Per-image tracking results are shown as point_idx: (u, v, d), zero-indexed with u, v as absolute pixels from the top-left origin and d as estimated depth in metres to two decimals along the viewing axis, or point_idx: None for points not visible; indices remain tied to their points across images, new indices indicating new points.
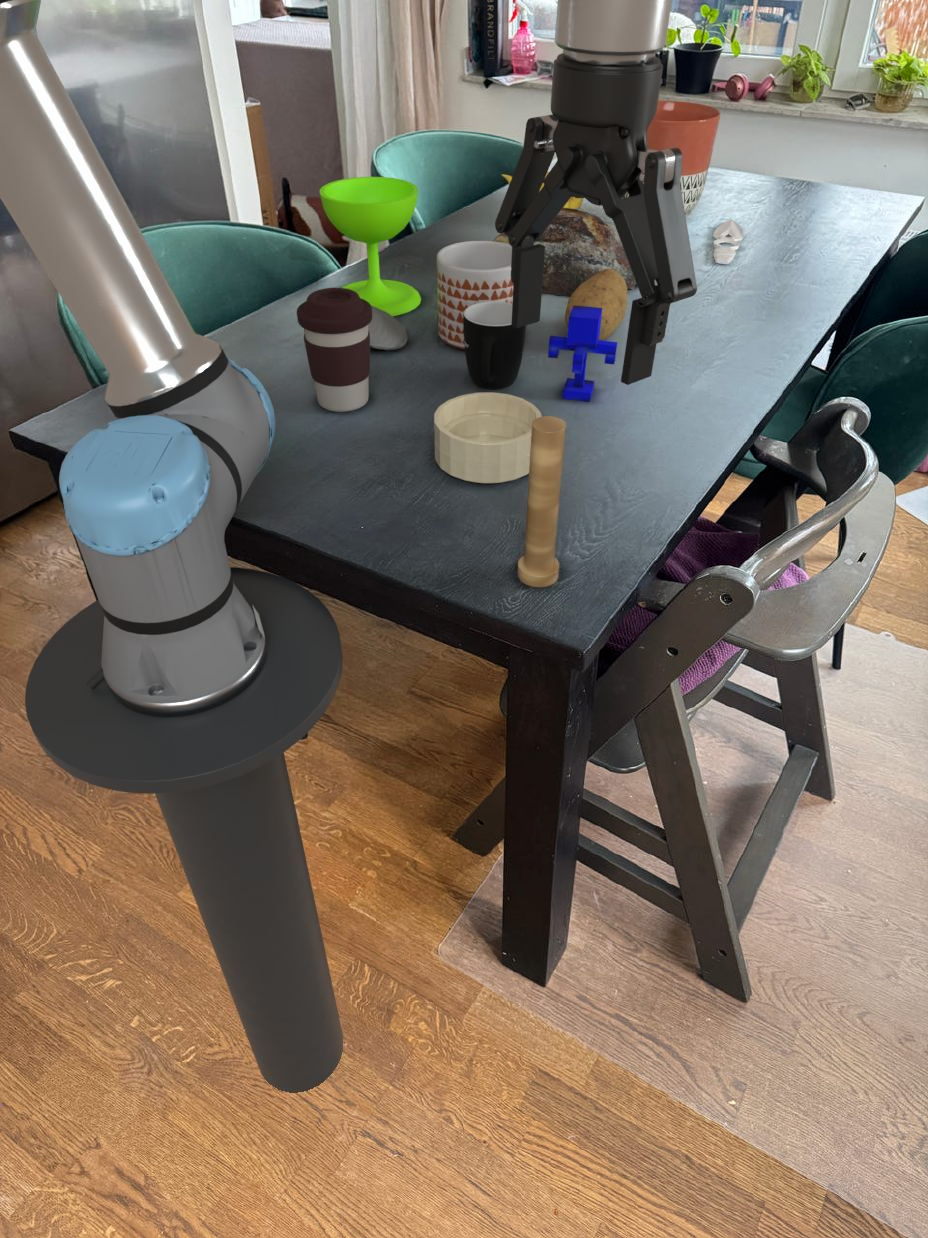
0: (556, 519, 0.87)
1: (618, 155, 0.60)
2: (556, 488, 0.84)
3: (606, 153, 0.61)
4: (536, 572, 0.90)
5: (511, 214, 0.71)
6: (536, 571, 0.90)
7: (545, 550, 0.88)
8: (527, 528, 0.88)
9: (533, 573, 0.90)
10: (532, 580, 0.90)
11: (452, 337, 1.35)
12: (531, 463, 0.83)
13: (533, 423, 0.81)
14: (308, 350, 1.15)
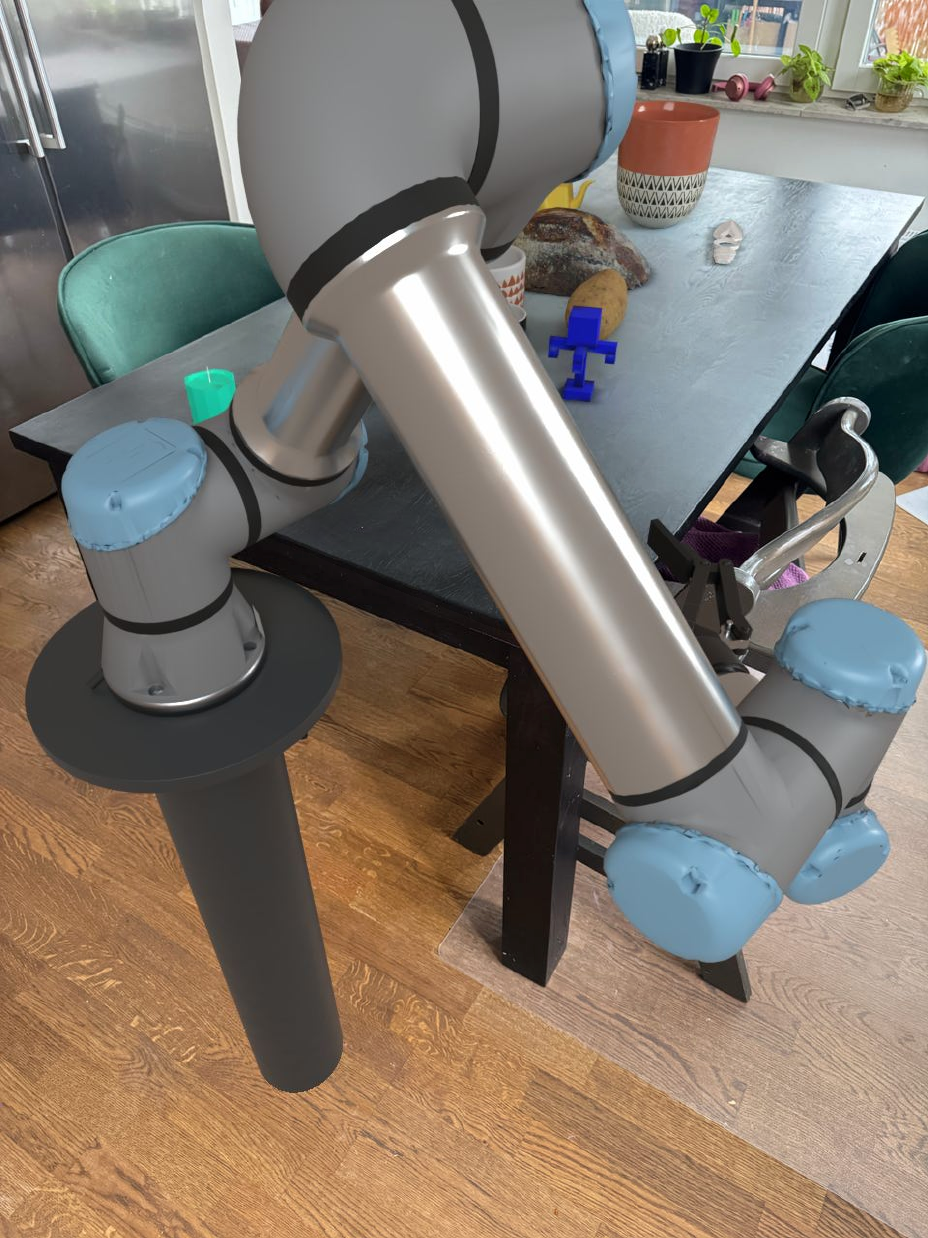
0: None
1: None
2: None
3: None
4: None
5: (720, 575, 0.74)
6: None
7: None
8: None
9: None
10: None
11: None
12: None
13: None
14: None
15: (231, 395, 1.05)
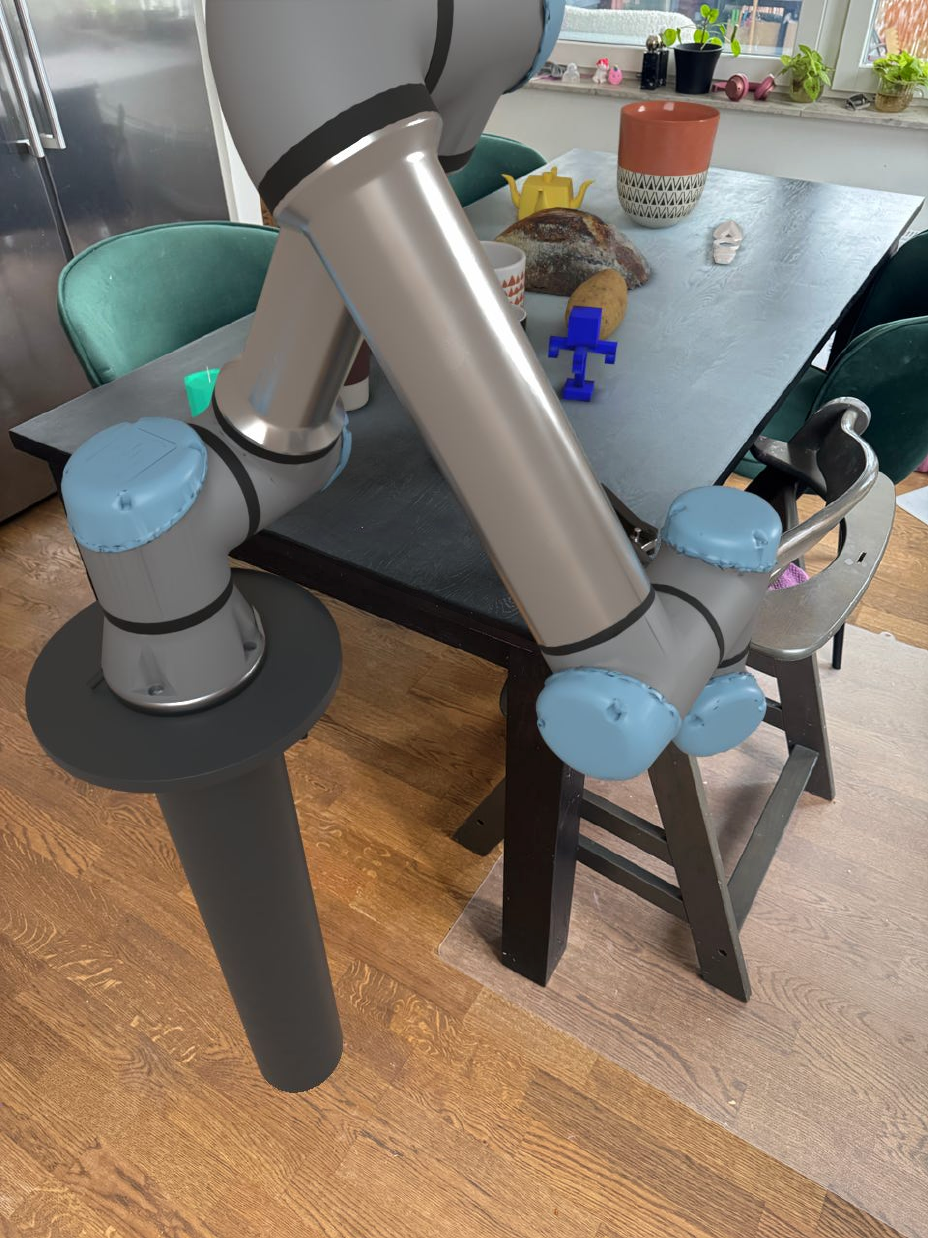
0: None
1: None
2: None
3: None
4: None
5: None
6: None
7: None
8: None
9: None
10: None
11: None
12: None
13: None
14: None
15: None
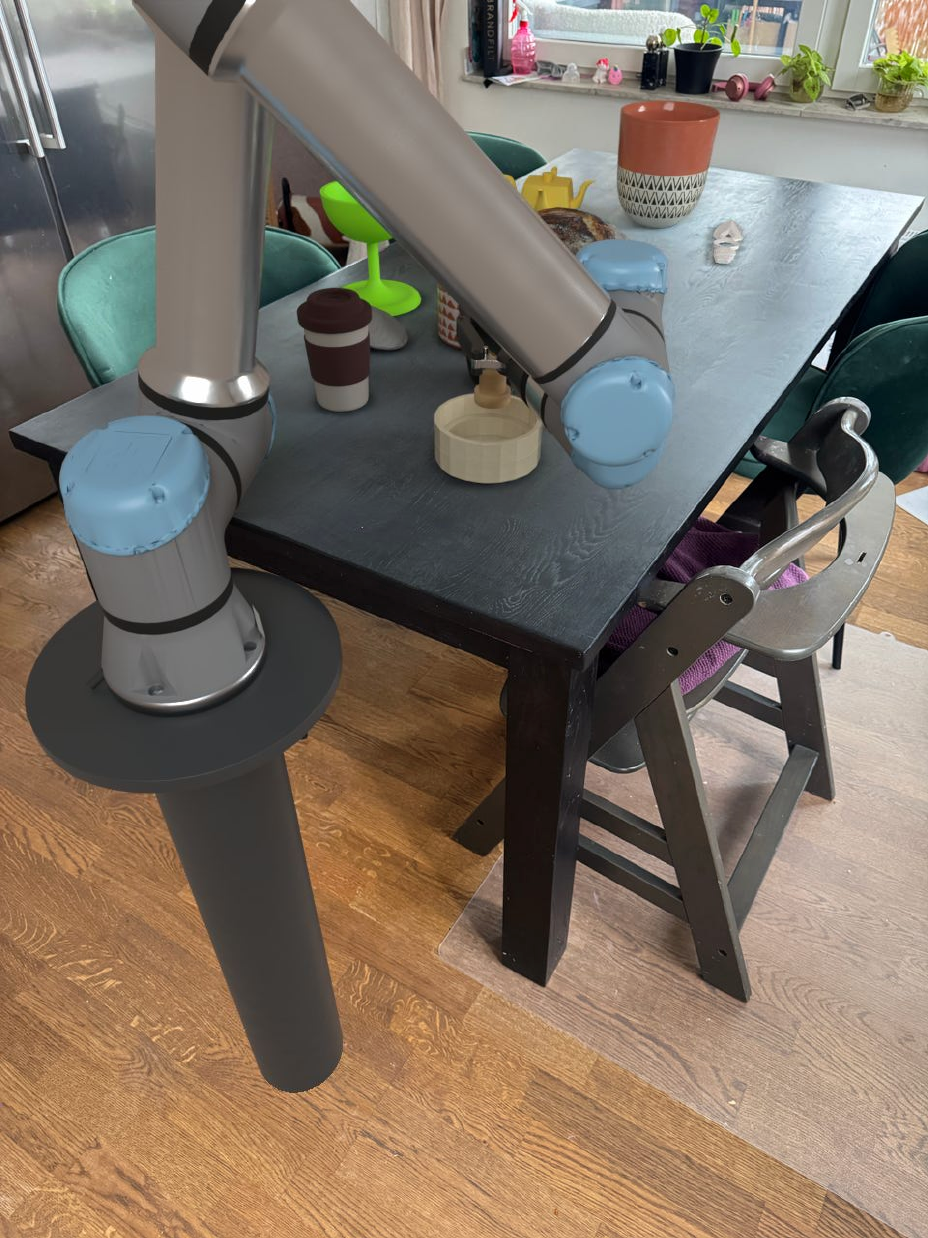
0: None
1: (508, 353, 0.87)
2: None
3: None
4: (489, 394, 1.02)
5: None
6: (489, 393, 1.02)
7: (496, 371, 1.00)
8: None
9: (487, 395, 1.02)
10: (486, 402, 1.02)
11: (452, 337, 1.35)
12: None
13: None
14: (308, 350, 1.15)
15: None
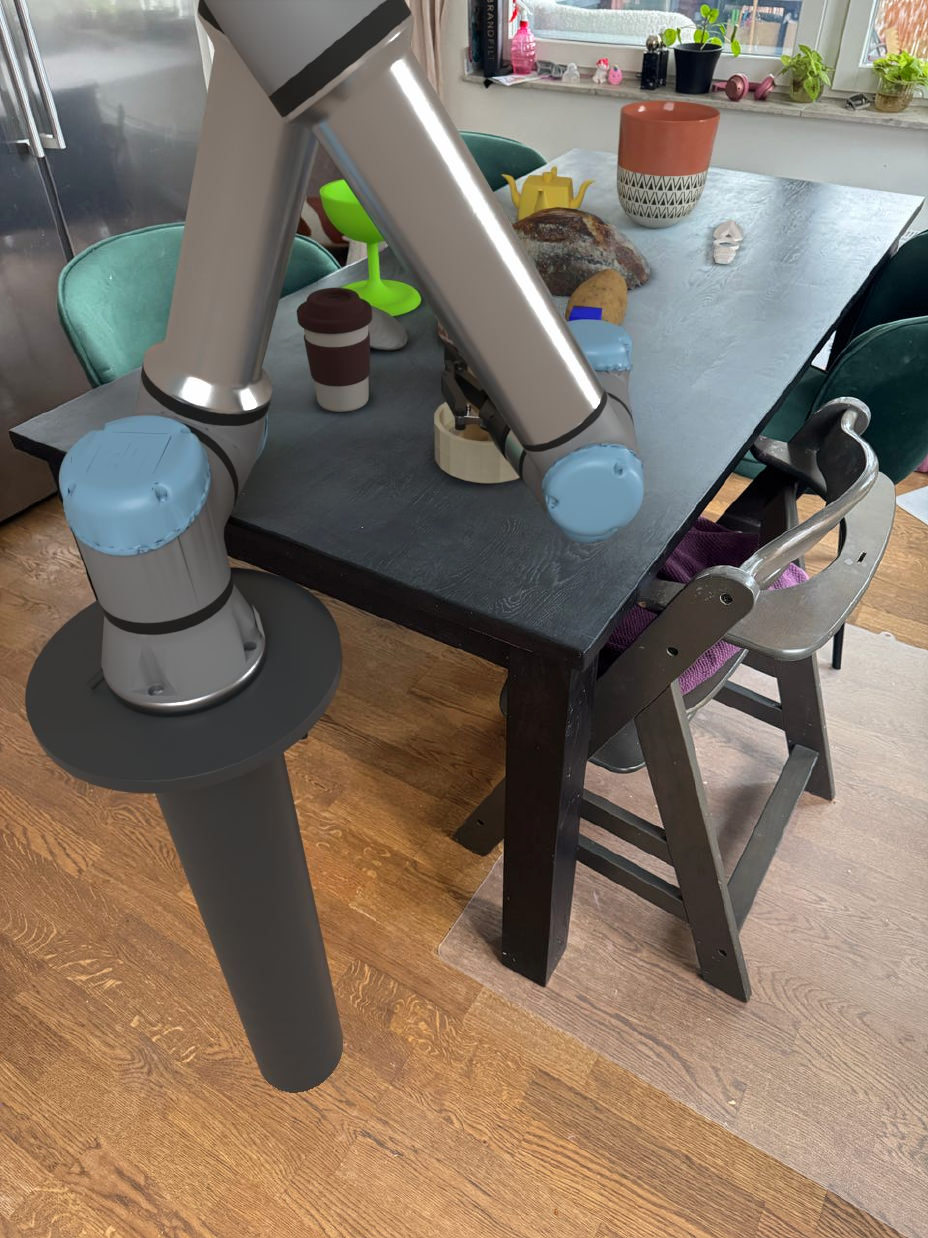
0: None
1: (489, 410, 0.93)
2: None
3: None
4: None
5: None
6: None
7: None
8: None
9: None
10: None
11: None
12: None
13: None
14: (308, 350, 1.15)
15: None
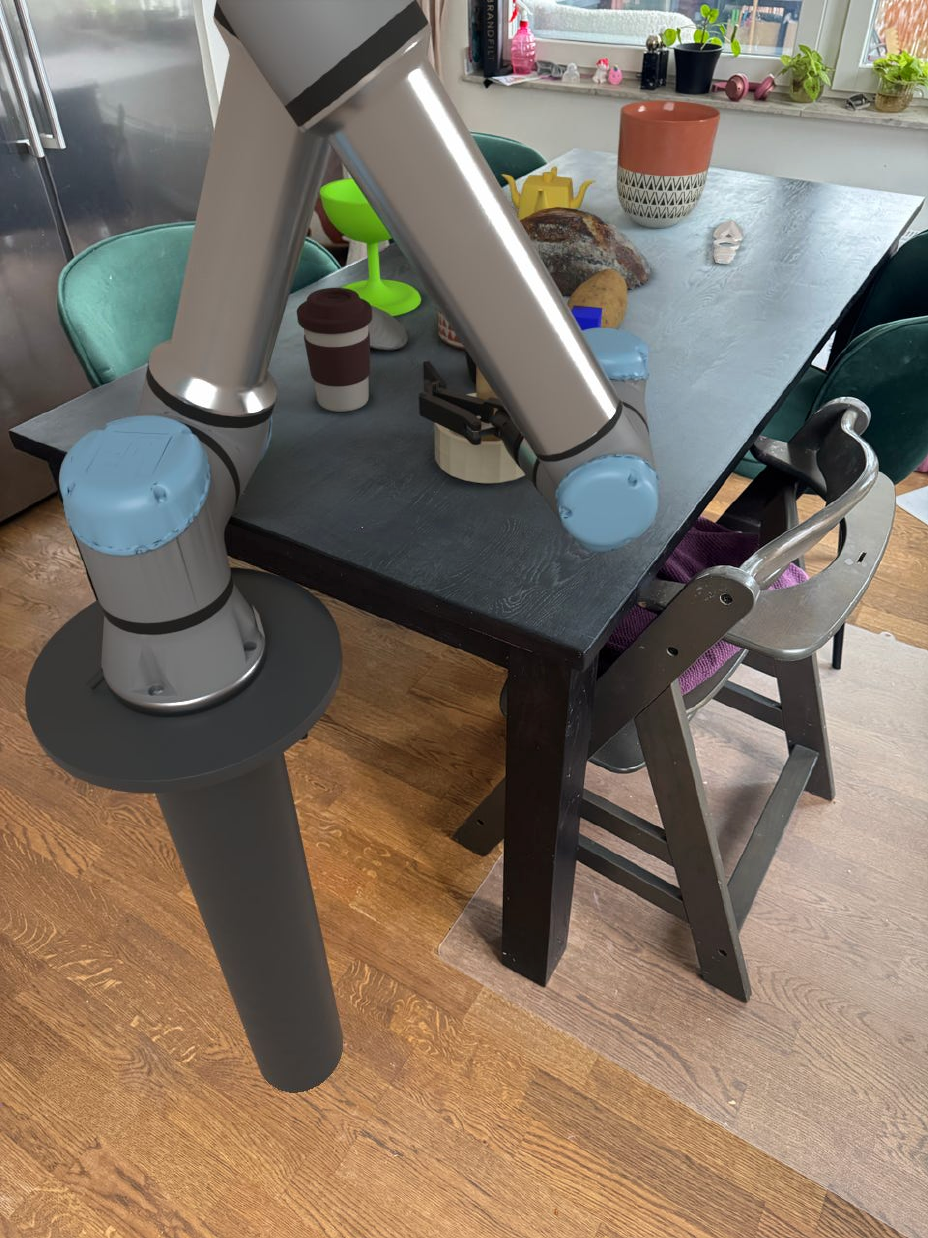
0: None
1: (502, 417, 0.93)
2: None
3: None
4: None
5: None
6: None
7: None
8: None
9: None
10: None
11: (452, 337, 1.35)
12: None
13: None
14: (308, 350, 1.15)
15: None
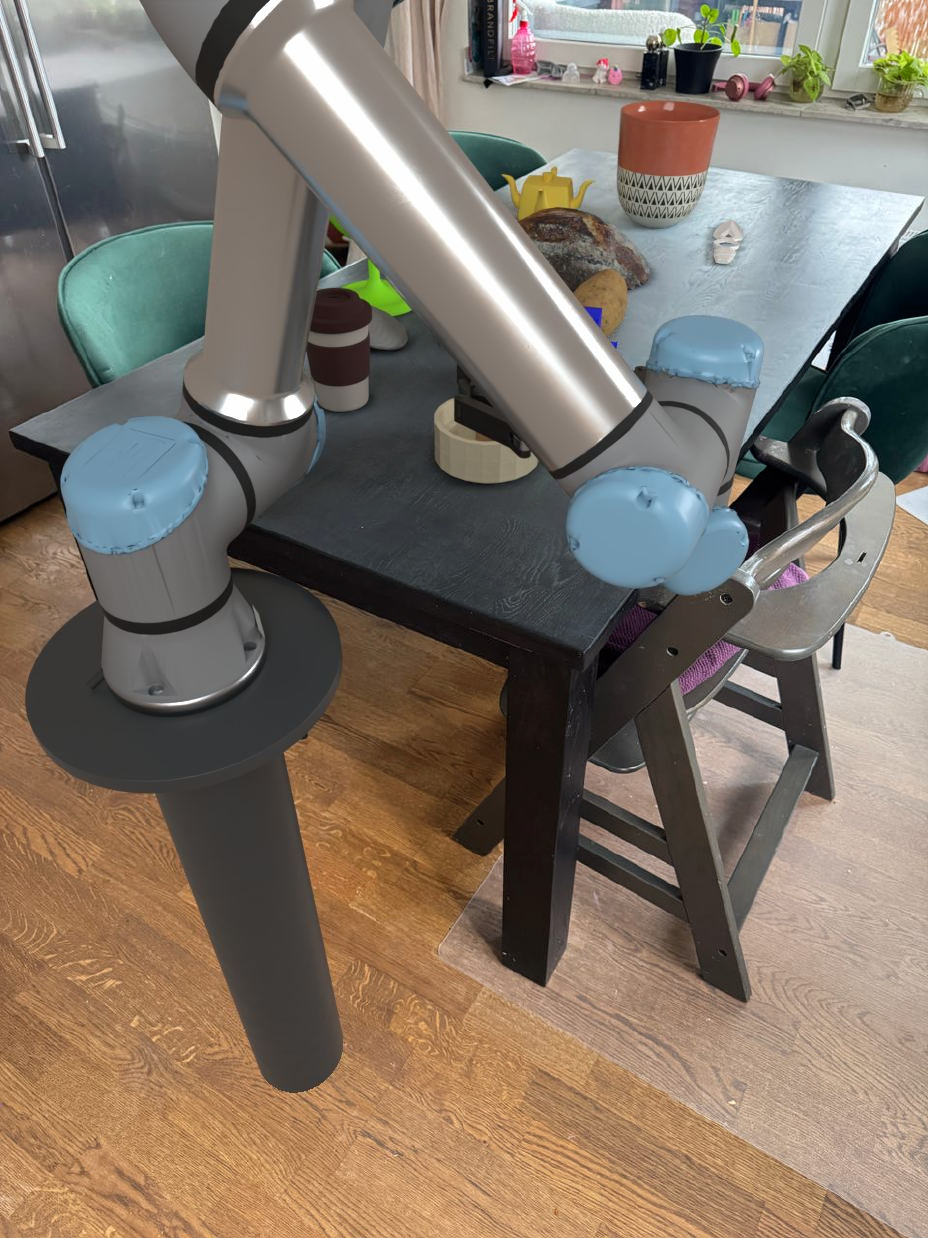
0: None
1: None
2: None
3: None
4: None
5: None
6: None
7: None
8: None
9: None
10: None
11: None
12: None
13: None
14: (308, 350, 1.15)
15: None
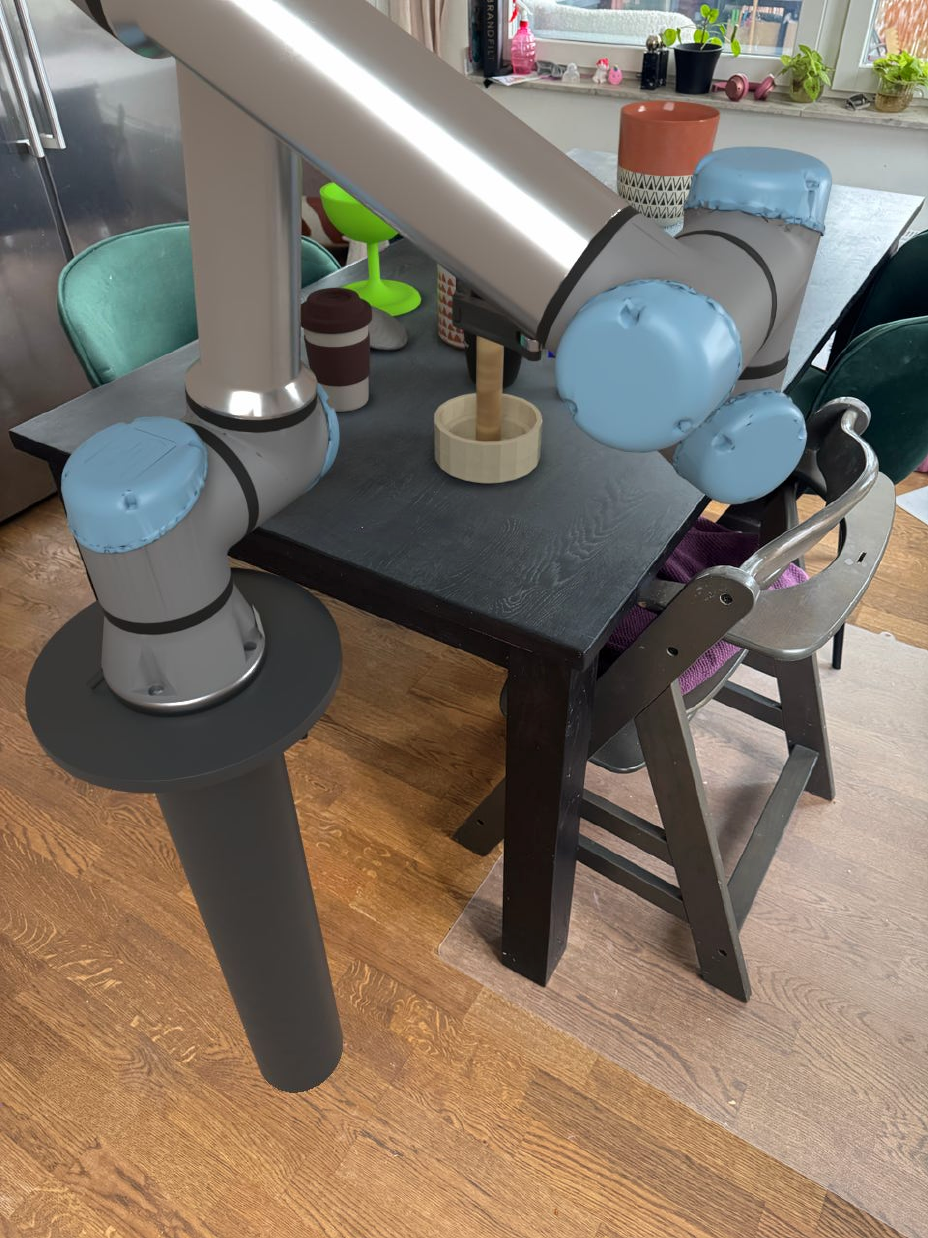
0: (500, 402, 1.05)
1: None
2: (498, 374, 1.02)
3: None
4: None
5: None
6: None
7: (491, 429, 1.06)
8: (476, 411, 1.05)
9: None
10: None
11: (452, 337, 1.35)
12: (477, 351, 1.00)
13: None
14: (308, 350, 1.15)
15: None
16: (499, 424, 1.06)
